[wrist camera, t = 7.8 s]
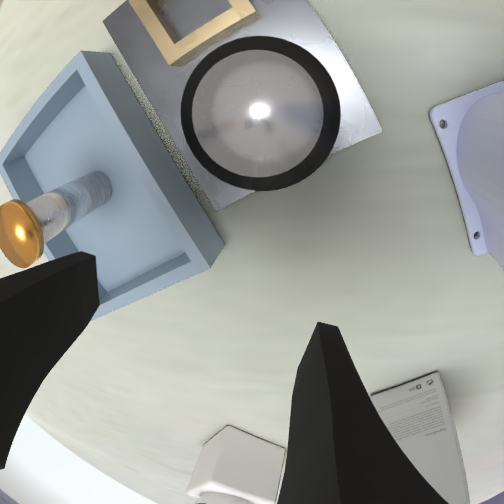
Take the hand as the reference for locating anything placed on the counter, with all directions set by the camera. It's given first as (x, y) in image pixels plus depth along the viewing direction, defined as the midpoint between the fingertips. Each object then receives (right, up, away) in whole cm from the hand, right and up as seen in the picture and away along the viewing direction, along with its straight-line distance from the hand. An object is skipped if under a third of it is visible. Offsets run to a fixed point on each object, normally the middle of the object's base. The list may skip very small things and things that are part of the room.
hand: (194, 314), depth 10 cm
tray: (-8, +6, +11) cm, 15 cm away
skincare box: (+16, -12, +14) cm, 25 cm away
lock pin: (-9, +6, +10) cm, 14 cm away
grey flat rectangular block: (+1, +12, +6) cm, 13 cm away
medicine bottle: (+1, -20, +22) cm, 29 cm away
